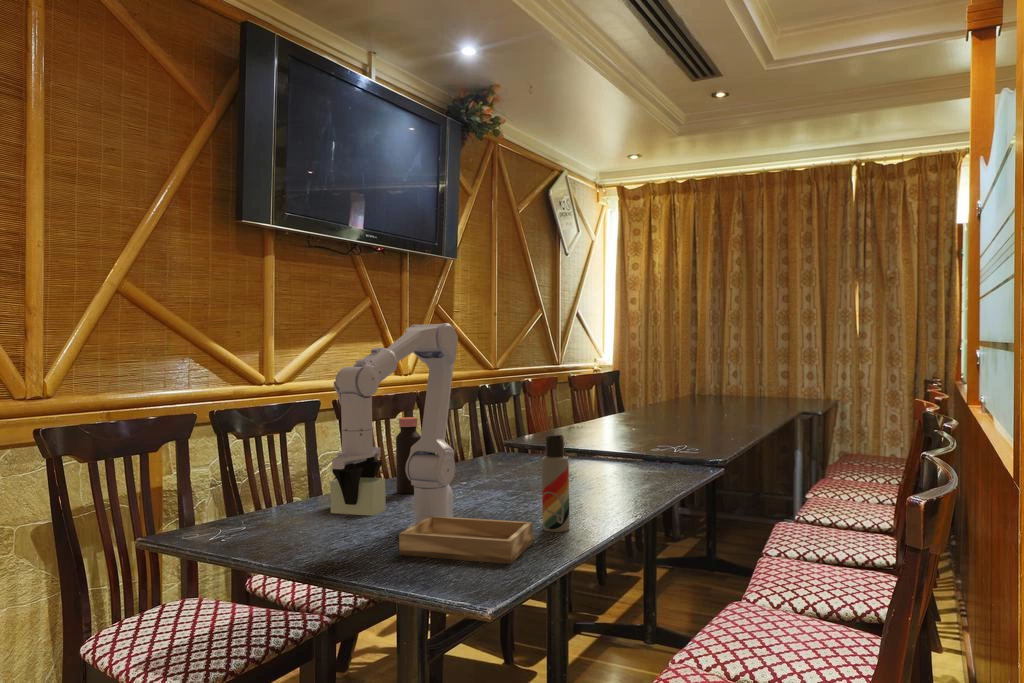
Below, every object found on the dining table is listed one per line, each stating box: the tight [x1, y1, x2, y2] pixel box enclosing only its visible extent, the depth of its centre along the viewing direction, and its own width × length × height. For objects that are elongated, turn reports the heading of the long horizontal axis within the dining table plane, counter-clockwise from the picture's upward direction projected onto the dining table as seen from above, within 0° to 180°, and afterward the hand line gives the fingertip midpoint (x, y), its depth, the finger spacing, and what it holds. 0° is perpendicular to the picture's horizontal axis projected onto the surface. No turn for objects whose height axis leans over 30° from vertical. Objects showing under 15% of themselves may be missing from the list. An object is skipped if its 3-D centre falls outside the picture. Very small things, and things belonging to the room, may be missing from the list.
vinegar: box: [395, 416, 421, 495], centre depth 188 cm, size 7×7×20 cm
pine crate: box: [398, 516, 534, 565], centre depth 134 cm, size 14×22×4 cm, turn 72°
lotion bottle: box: [541, 434, 571, 533], centre depth 147 cm, size 6×6×20 cm
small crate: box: [329, 477, 387, 516], centre depth 132 cm, size 5×9×6 cm, turn 72°
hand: (358, 501), depth 132 cm, fingers closed on small crate, 5 cm apart
